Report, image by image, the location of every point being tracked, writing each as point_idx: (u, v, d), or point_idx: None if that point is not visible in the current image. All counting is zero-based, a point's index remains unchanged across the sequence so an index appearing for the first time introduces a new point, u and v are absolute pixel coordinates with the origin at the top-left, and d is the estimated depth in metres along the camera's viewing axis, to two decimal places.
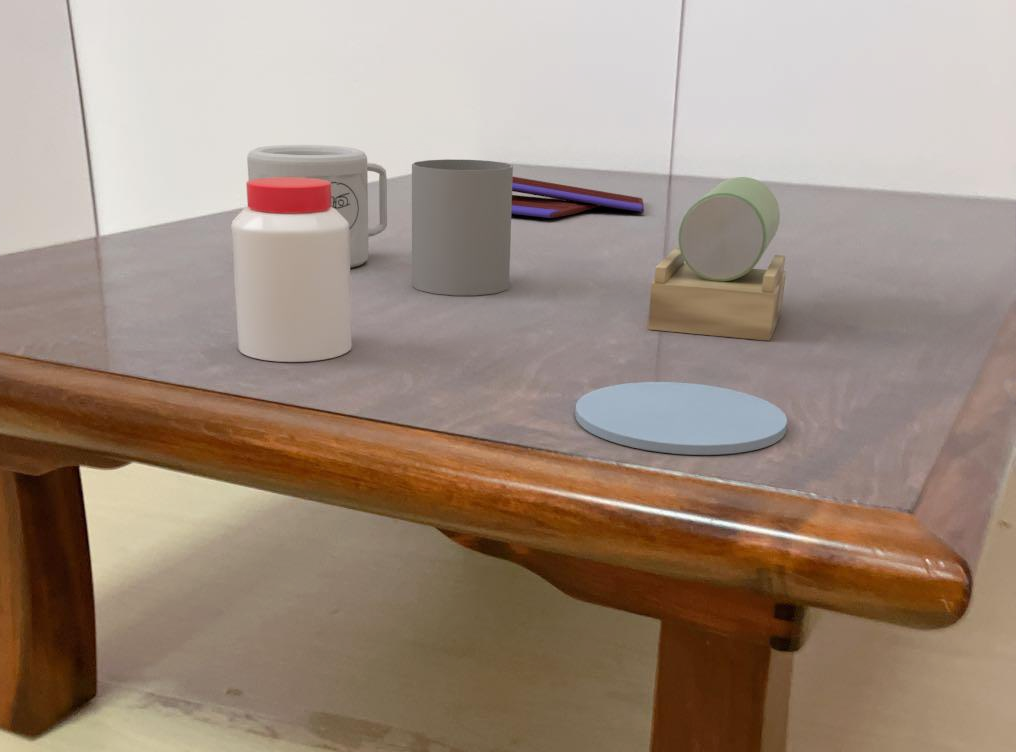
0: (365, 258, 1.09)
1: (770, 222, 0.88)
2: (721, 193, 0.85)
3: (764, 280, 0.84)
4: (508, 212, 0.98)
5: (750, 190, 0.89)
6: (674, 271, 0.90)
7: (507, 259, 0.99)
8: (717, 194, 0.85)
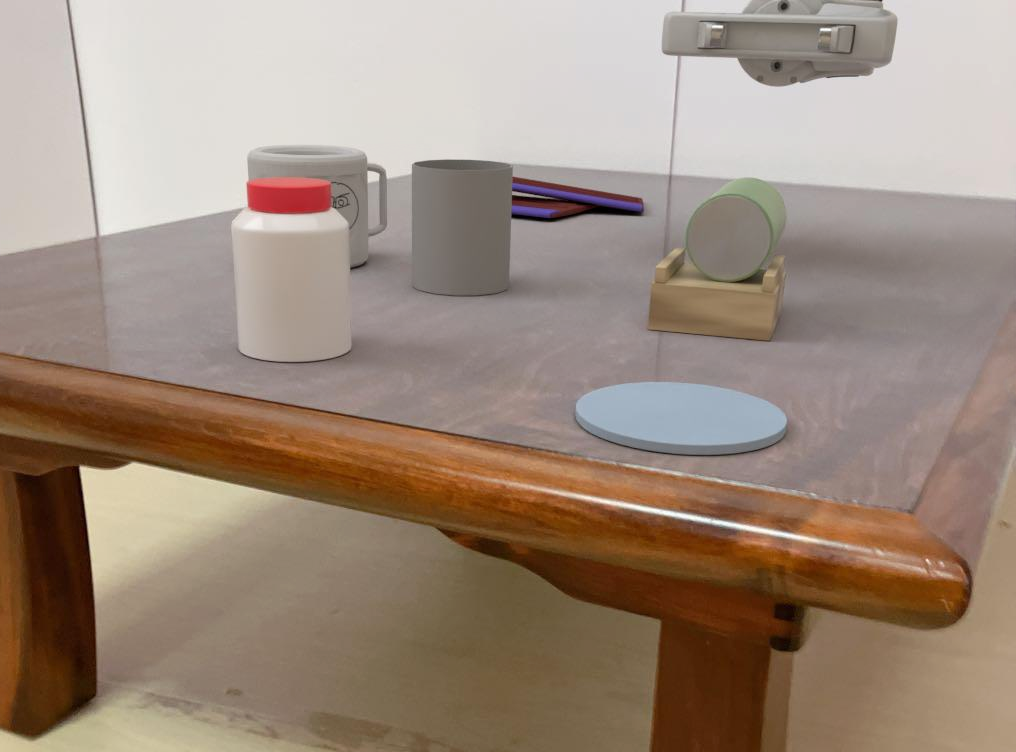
0: (365, 258, 1.09)
1: (778, 230, 0.88)
2: (735, 194, 0.85)
3: (764, 280, 0.84)
4: (508, 212, 0.98)
5: (763, 194, 0.89)
6: (674, 271, 0.90)
7: (507, 259, 0.99)
8: (731, 194, 0.85)
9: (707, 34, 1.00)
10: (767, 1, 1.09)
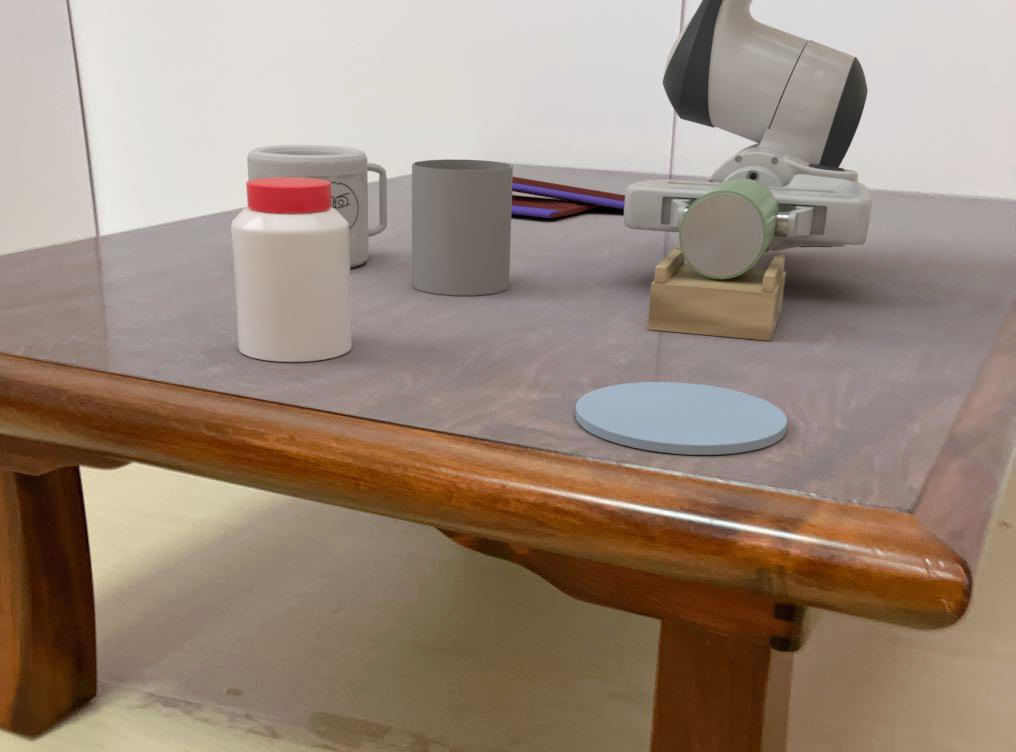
0: (365, 258, 1.09)
1: (770, 221, 0.88)
2: (722, 190, 0.85)
3: (764, 280, 0.84)
4: (508, 212, 0.98)
5: (751, 189, 0.89)
6: (674, 271, 0.90)
7: (507, 259, 0.99)
8: (718, 191, 0.85)
9: (679, 218, 0.94)
10: (736, 168, 1.03)
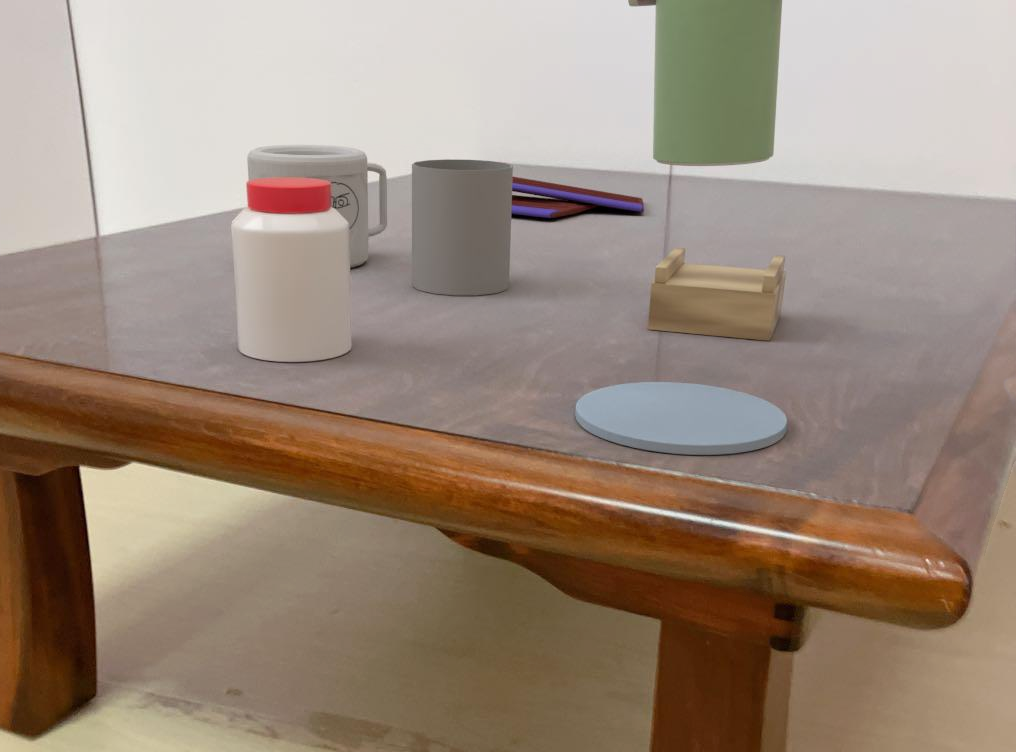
0: (365, 258, 1.09)
1: None
2: None
3: (764, 280, 0.84)
4: (508, 212, 0.98)
5: None
6: (674, 271, 0.90)
7: (507, 259, 0.99)
8: None
9: None
10: None
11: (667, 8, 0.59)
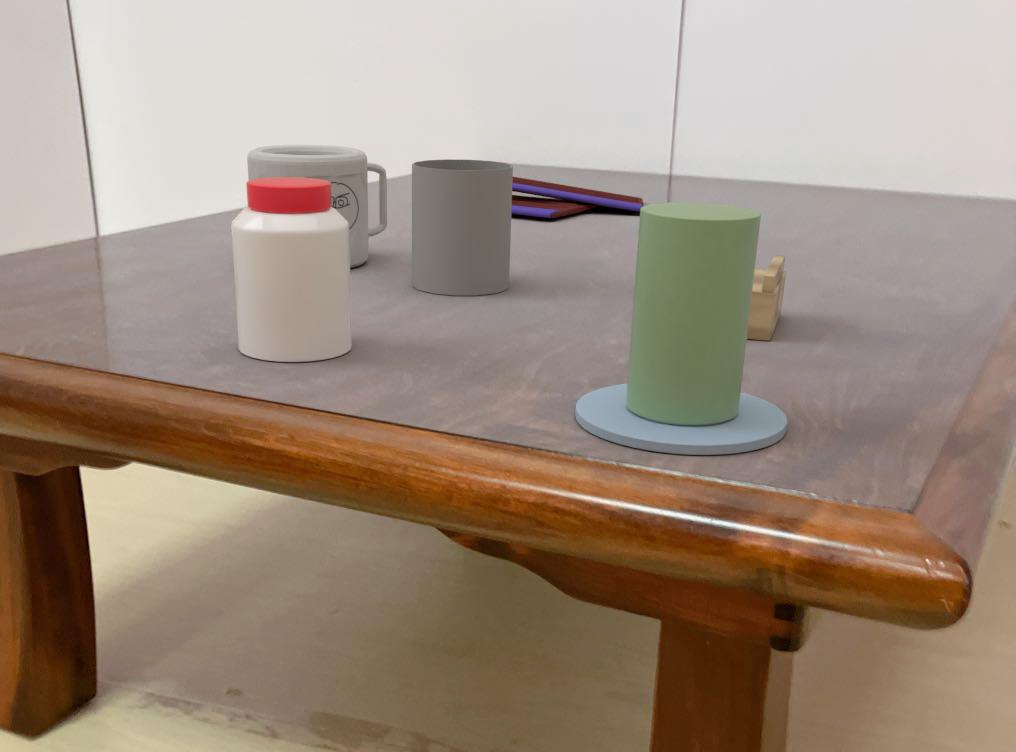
0: (365, 258, 1.09)
1: None
2: None
3: (764, 280, 0.84)
4: (508, 212, 0.98)
5: None
6: None
7: (507, 259, 0.99)
8: None
9: None
10: None
11: (649, 283, 0.63)
